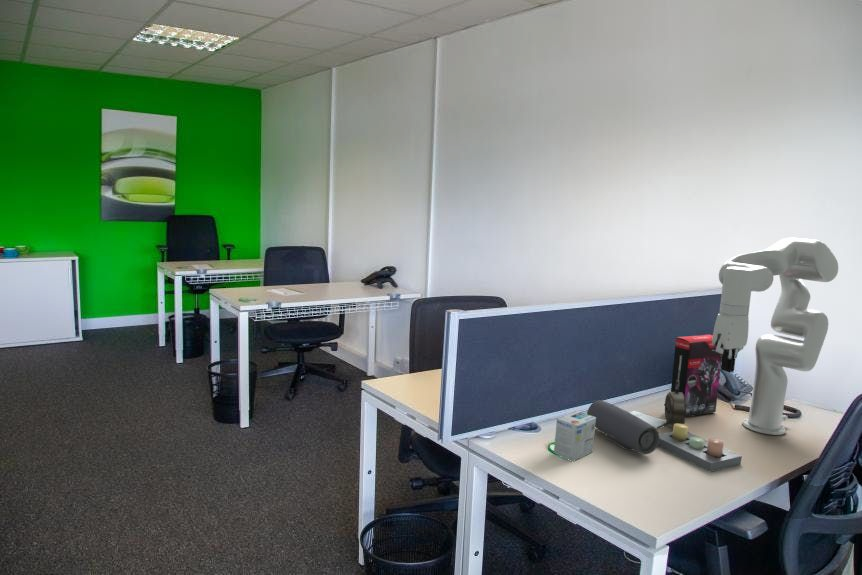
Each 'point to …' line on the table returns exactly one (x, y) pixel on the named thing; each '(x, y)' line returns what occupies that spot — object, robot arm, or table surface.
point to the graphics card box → (697, 373)
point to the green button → (696, 443)
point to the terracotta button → (715, 448)
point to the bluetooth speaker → (624, 427)
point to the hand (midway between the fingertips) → (727, 370)
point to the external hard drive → (650, 419)
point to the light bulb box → (574, 435)
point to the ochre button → (680, 432)
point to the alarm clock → (675, 407)
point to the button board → (698, 453)
